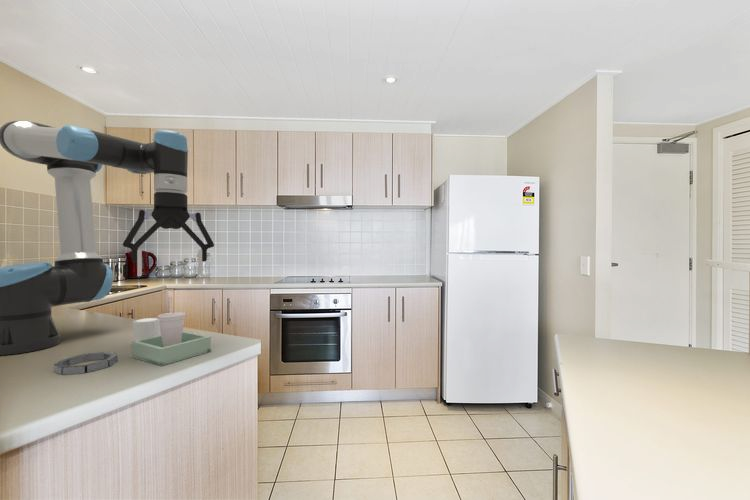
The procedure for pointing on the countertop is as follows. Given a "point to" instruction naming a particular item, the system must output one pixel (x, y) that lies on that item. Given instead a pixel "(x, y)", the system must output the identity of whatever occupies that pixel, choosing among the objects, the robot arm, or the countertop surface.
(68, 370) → the collar
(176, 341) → the smoothie
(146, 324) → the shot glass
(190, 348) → the bin
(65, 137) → the robot arm
